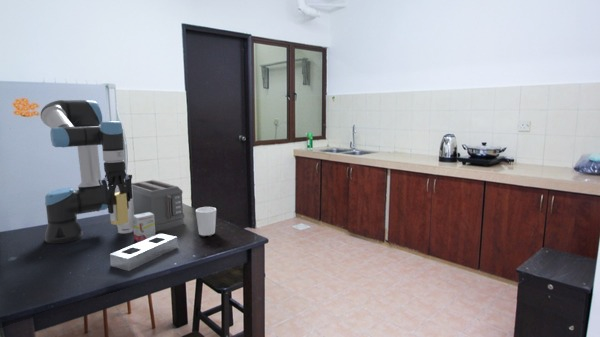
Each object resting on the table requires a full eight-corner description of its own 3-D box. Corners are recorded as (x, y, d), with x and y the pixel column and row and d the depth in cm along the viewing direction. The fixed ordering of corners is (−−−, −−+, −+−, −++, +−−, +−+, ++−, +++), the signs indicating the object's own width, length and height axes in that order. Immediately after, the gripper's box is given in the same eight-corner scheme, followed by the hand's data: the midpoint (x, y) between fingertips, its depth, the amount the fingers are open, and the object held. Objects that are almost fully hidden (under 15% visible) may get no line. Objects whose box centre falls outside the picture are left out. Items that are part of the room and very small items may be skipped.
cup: (202, 239, 175) (201, 213, 173) (193, 234, 182) (191, 209, 180) (221, 234, 181) (220, 209, 179) (211, 229, 188) (210, 205, 186)
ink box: (138, 242, 171) (136, 217, 169) (133, 239, 175) (131, 215, 173) (156, 237, 177) (154, 213, 175) (151, 235, 181) (150, 211, 179)
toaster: (155, 233, 183) (152, 193, 180) (124, 219, 205) (121, 183, 201) (188, 224, 197) (186, 187, 194) (156, 212, 219) (153, 178, 215)
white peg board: (110, 266, 146) (109, 254, 145) (160, 243, 169) (160, 233, 168) (128, 270, 142) (127, 258, 141) (177, 247, 165) (177, 236, 164)
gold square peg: (111, 223, 147) (108, 194, 145) (120, 220, 151) (118, 192, 149) (118, 225, 145) (116, 195, 143) (128, 222, 149) (126, 193, 147)
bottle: (139, 229, 189) (135, 175, 184) (125, 234, 181) (121, 178, 176) (127, 227, 192) (123, 174, 187) (114, 232, 185) (109, 176, 180)
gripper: (100, 164, 135) (106, 226, 138) (139, 158, 150) (144, 214, 154) (86, 163, 138) (92, 224, 142) (126, 158, 154) (131, 212, 157)
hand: (119, 218), depth 148 cm, fingers closed on gold square peg, 4 cm apart
